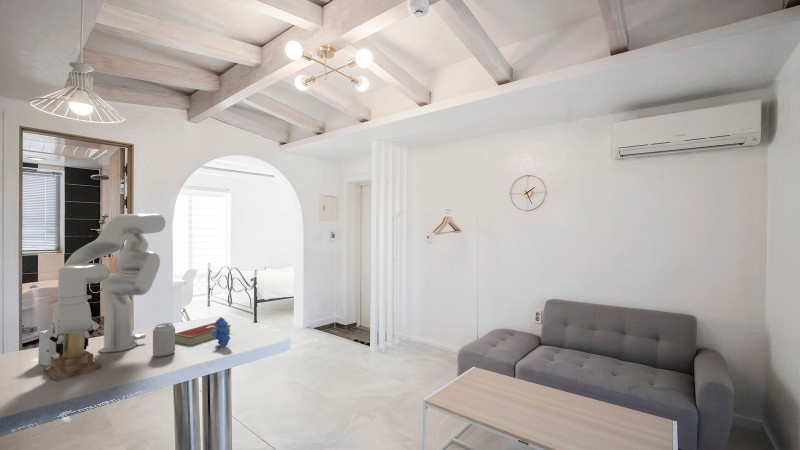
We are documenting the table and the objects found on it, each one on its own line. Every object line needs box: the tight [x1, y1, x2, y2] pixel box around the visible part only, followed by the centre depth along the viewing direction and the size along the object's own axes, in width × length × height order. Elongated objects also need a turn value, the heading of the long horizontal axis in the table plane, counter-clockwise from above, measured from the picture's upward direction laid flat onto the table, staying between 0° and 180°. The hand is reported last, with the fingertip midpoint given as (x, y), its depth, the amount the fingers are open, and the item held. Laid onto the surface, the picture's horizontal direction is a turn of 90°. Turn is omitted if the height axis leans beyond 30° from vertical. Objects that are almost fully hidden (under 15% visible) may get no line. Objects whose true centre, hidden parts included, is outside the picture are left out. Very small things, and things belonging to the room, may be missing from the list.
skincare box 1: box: [37, 329, 58, 367], centre depth 136 cm, size 6×4×12 cm
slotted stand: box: [42, 349, 102, 382], centre depth 129 cm, size 12×14×6 cm
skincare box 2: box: [62, 331, 85, 360], centre depth 129 cm, size 6×4×12 cm
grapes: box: [212, 316, 231, 347], centre depth 156 cm, size 12×7×12 cm, turn 49°
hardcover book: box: [175, 322, 232, 346], centre depth 169 cm, size 12×21×4 cm, turn 157°
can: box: [152, 322, 176, 358], centre depth 146 cm, size 8×8×12 cm
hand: (72, 350), depth 129 cm, fingers open, 5 cm apart
